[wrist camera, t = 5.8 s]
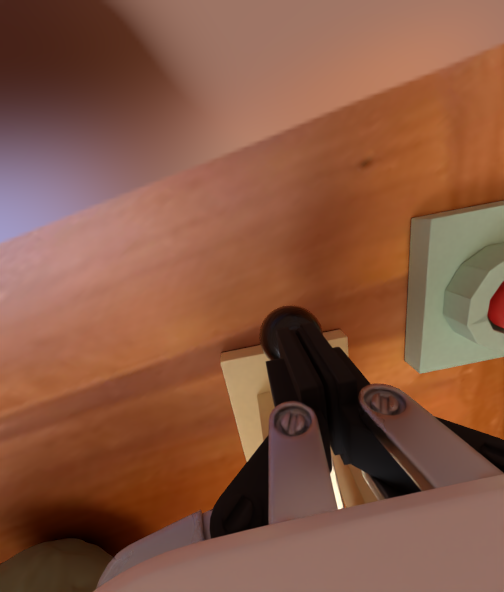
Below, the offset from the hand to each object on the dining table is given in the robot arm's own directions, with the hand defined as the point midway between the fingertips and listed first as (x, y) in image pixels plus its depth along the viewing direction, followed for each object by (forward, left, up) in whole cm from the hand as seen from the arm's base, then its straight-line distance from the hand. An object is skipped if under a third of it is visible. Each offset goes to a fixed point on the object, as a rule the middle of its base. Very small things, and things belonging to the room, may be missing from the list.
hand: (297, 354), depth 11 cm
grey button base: (+1, +14, -6) cm, 15 cm away
